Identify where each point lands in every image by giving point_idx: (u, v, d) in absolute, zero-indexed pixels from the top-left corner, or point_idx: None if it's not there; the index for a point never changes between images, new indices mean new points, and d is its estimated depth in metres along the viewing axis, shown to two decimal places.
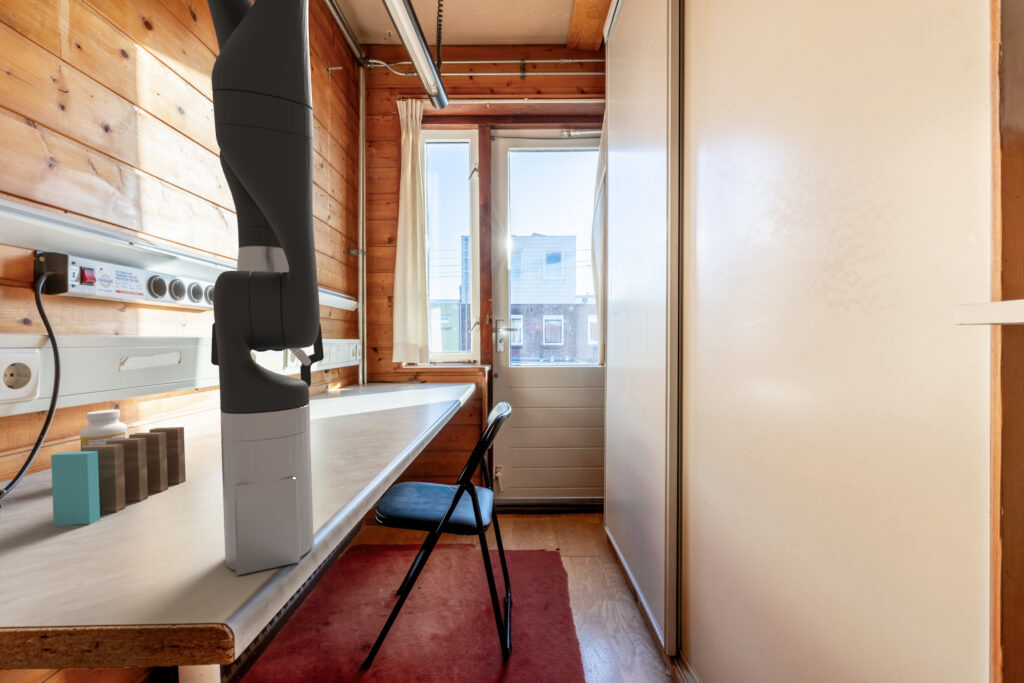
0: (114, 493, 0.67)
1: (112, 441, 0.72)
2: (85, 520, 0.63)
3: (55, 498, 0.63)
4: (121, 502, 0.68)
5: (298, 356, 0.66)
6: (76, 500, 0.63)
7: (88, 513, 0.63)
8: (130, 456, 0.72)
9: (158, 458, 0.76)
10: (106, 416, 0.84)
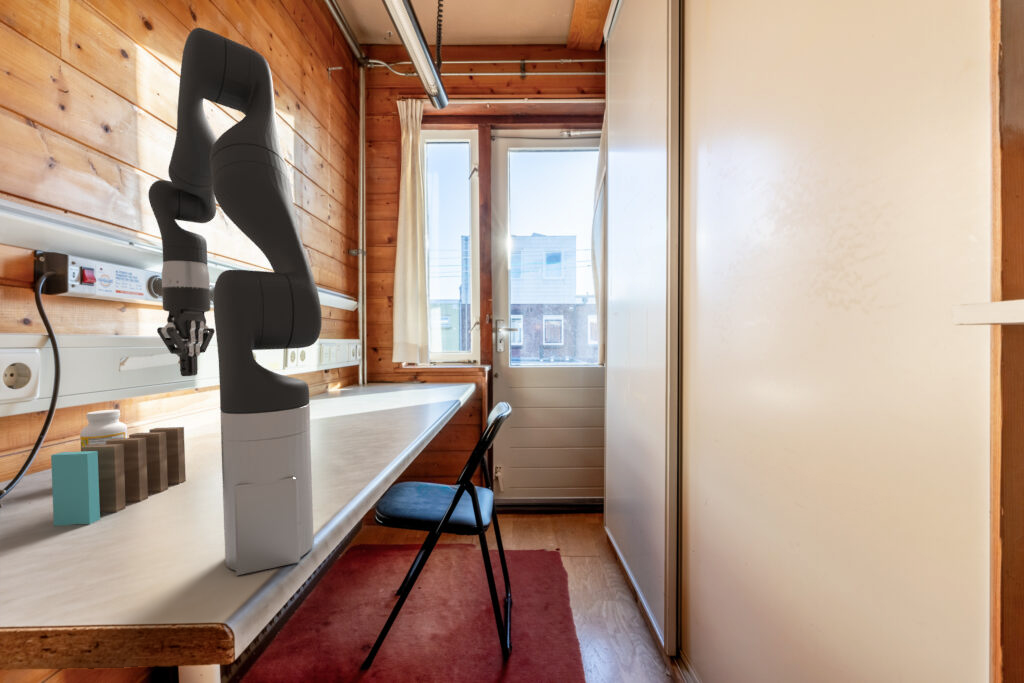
0: (114, 493, 0.67)
1: (112, 441, 0.72)
2: (85, 520, 0.63)
3: (55, 498, 0.63)
4: (121, 502, 0.68)
5: (196, 346, 0.88)
6: (76, 500, 0.63)
7: (88, 513, 0.63)
8: (130, 456, 0.72)
9: (158, 458, 0.76)
10: (106, 416, 0.84)
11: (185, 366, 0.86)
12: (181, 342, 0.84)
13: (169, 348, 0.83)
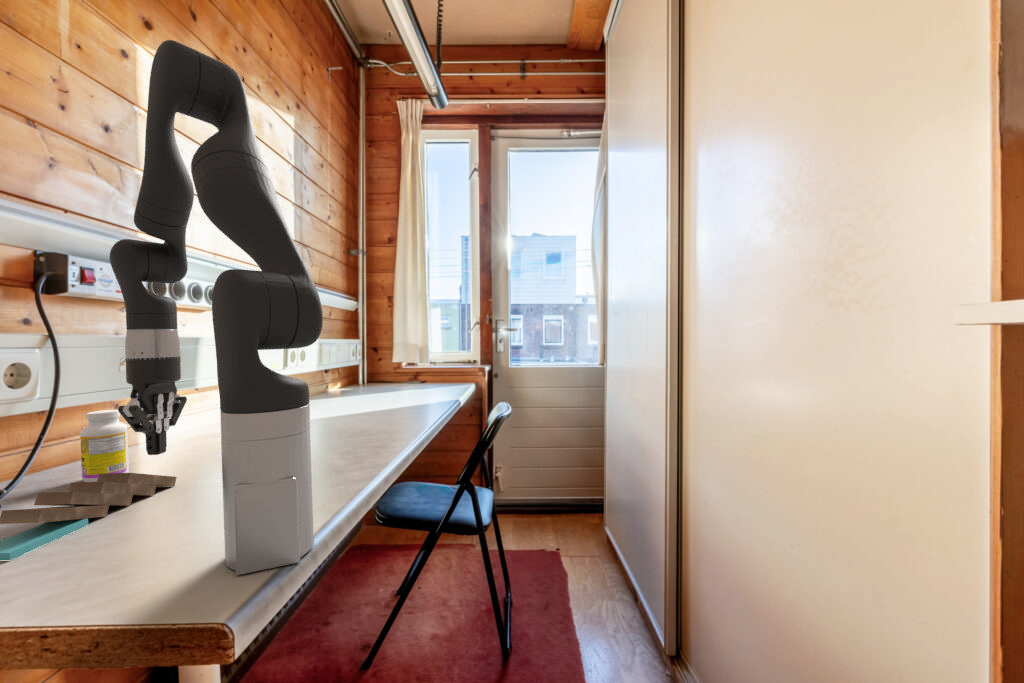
0: None
1: (41, 504, 0.61)
2: None
3: None
4: (101, 510, 0.65)
5: (165, 420, 0.79)
6: None
7: None
8: None
9: (123, 493, 0.69)
10: (106, 416, 0.84)
11: (152, 444, 0.77)
12: (146, 420, 0.75)
13: (133, 427, 0.75)
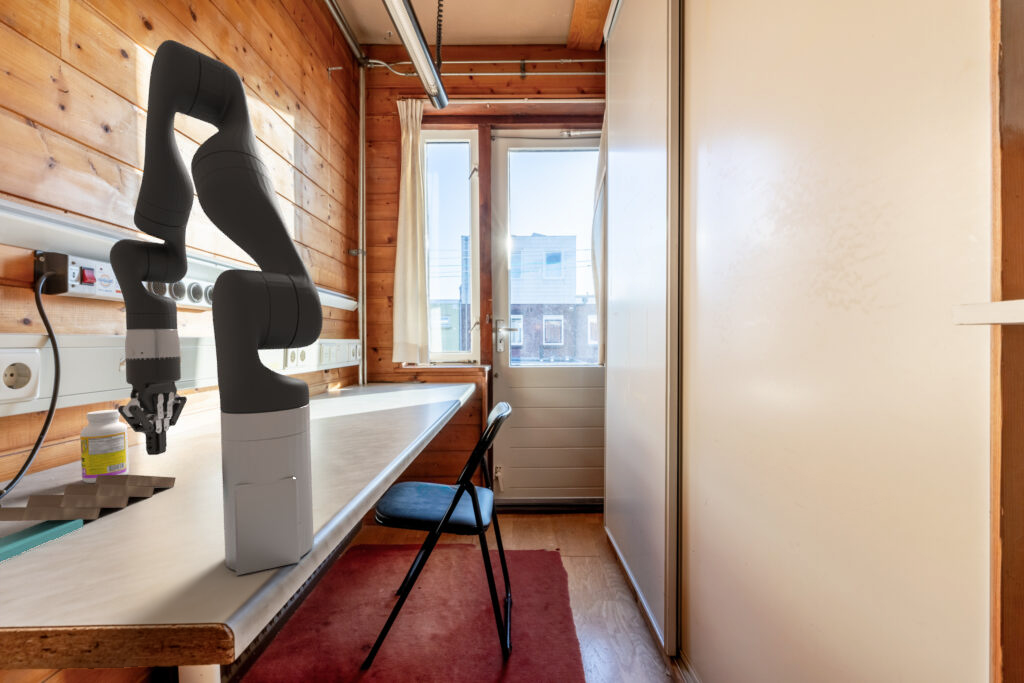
0: (76, 519, 0.62)
1: None
2: None
3: None
4: (91, 512, 0.64)
5: (165, 420, 0.79)
6: None
7: None
8: None
9: None
10: (106, 416, 0.84)
11: (152, 444, 0.77)
12: (146, 420, 0.75)
13: (133, 427, 0.75)
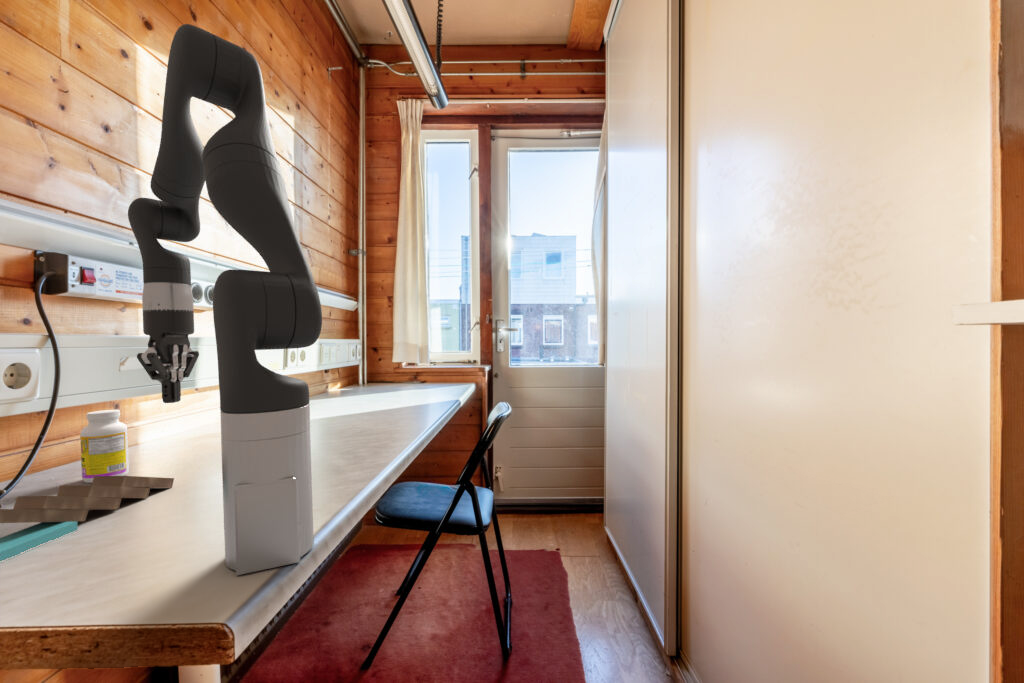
0: (61, 521, 0.61)
1: None
2: None
3: None
4: (78, 514, 0.63)
5: (179, 371, 0.84)
6: None
7: None
8: None
9: None
10: (106, 416, 0.84)
11: (167, 392, 0.82)
12: (163, 368, 0.80)
13: (150, 374, 0.79)
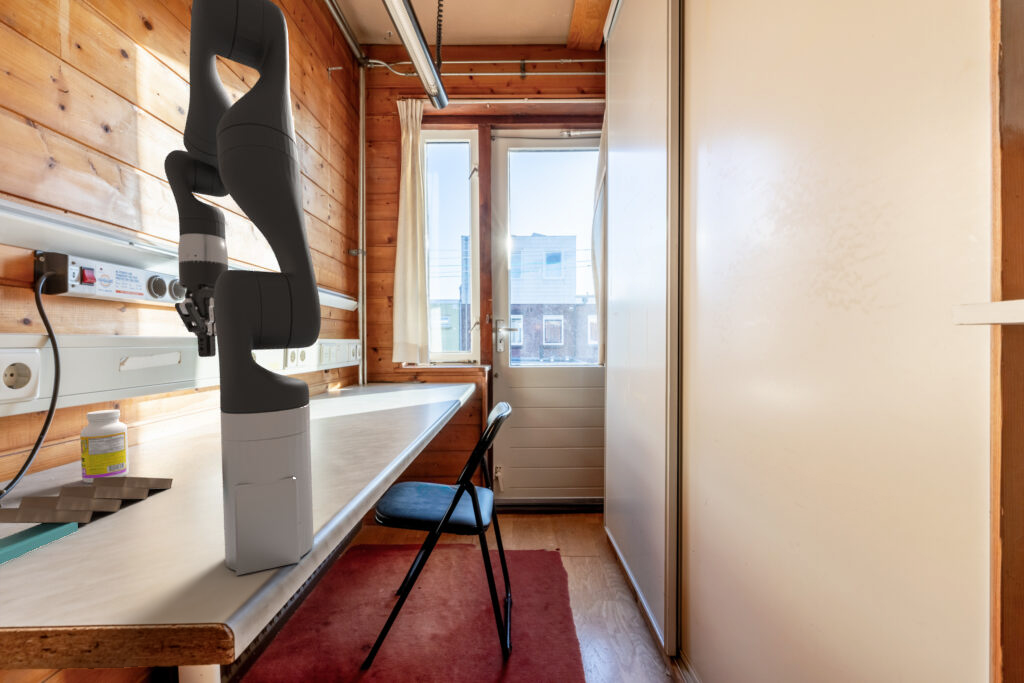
0: (68, 522, 0.60)
1: None
2: None
3: None
4: (84, 515, 0.62)
5: (214, 325, 0.83)
6: None
7: None
8: None
9: (116, 498, 0.68)
10: (106, 416, 0.84)
11: (203, 346, 0.81)
12: (200, 319, 0.79)
13: (187, 326, 0.78)
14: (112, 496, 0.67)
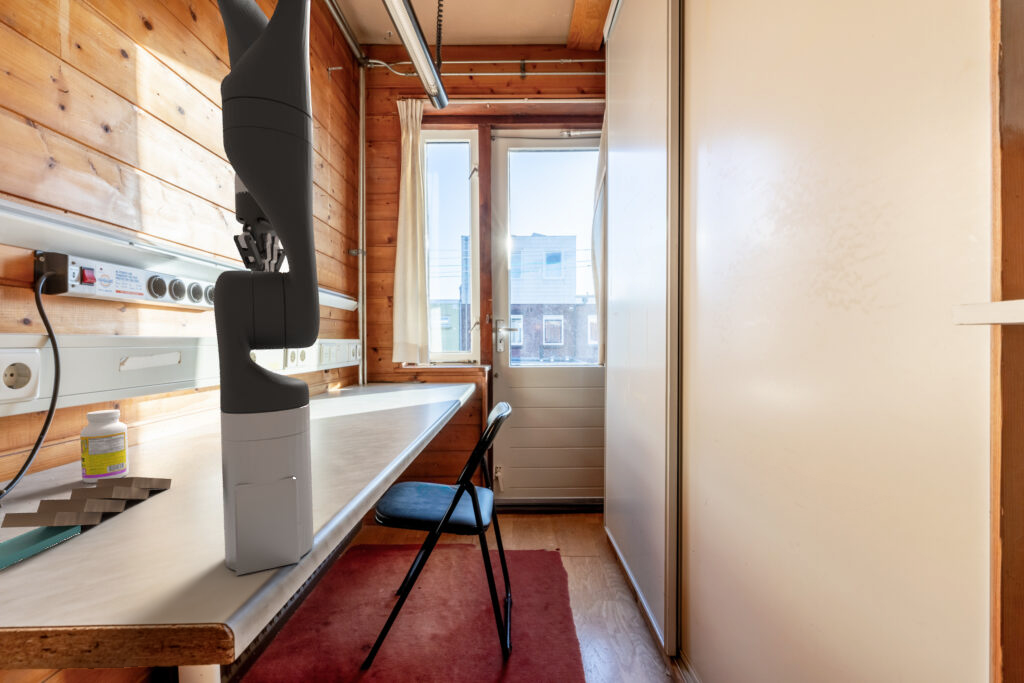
0: (85, 524, 0.60)
1: None
2: None
3: None
4: (96, 517, 0.62)
5: (271, 264, 0.78)
6: None
7: None
8: None
9: (126, 498, 0.68)
10: (106, 416, 0.84)
11: None
12: (258, 255, 0.74)
13: (244, 261, 0.73)
14: (124, 496, 0.67)
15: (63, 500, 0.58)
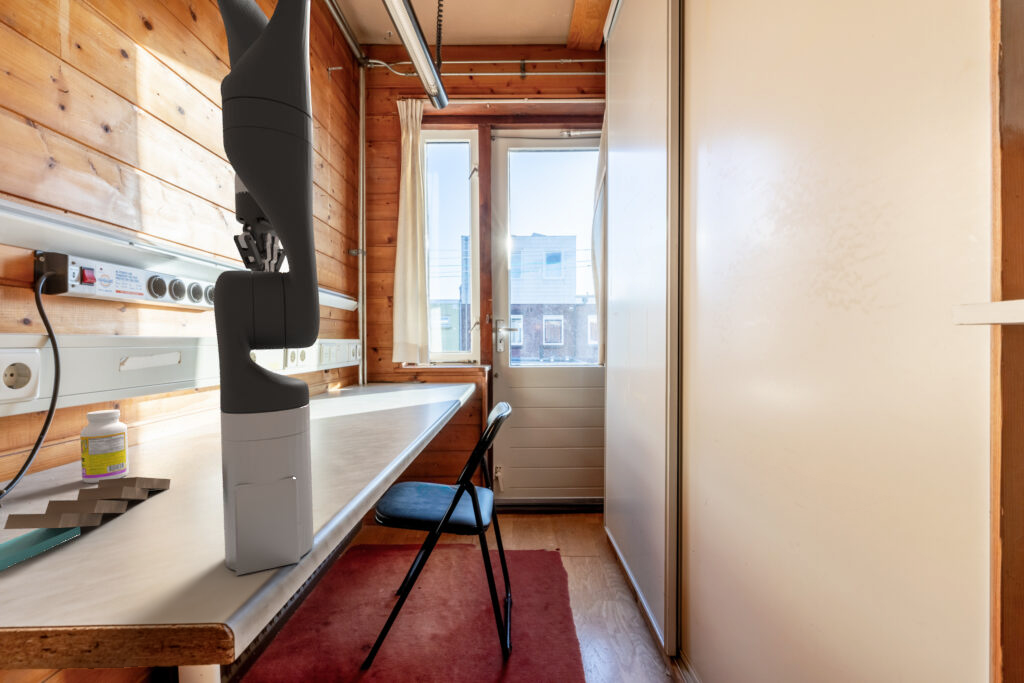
0: (87, 525, 0.59)
1: (55, 513, 0.57)
2: None
3: None
4: (97, 518, 0.61)
5: (271, 264, 0.78)
6: None
7: None
8: None
9: (131, 498, 0.68)
10: (106, 416, 0.84)
11: None
12: (258, 255, 0.74)
13: (244, 261, 0.73)
14: (130, 496, 0.67)
15: (73, 501, 0.58)
